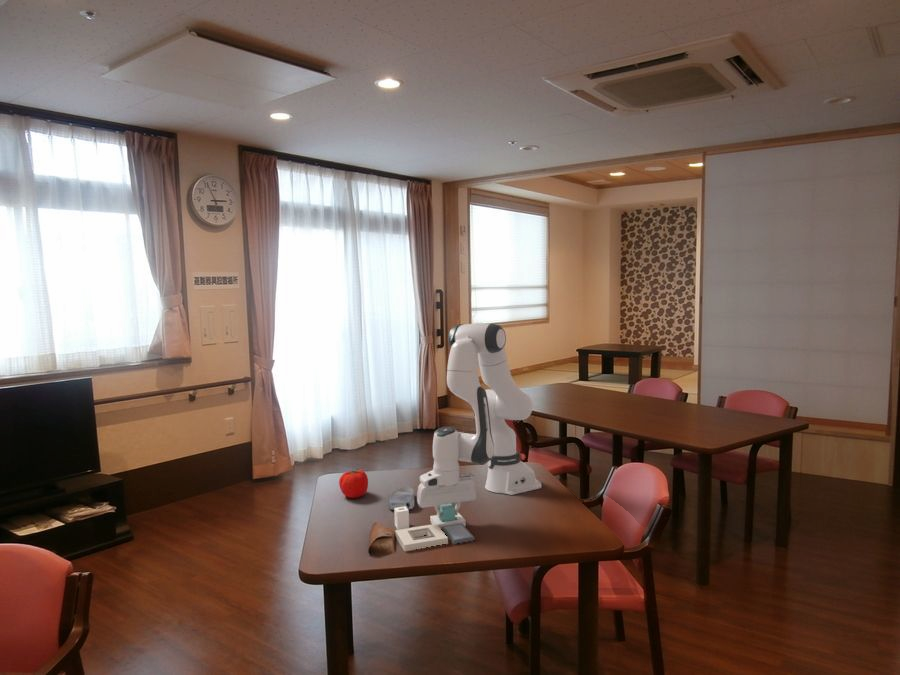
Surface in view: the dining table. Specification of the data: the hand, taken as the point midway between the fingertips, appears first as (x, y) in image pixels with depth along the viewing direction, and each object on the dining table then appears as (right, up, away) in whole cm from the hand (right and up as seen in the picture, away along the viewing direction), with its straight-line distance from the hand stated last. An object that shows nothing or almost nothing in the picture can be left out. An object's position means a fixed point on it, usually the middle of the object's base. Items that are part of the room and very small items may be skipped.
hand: (447, 515), depth 199 cm
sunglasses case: (-20, -5, -13) cm, 25 cm away
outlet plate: (-8, -4, -12) cm, 15 cm away
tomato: (-37, -2, +30) cm, 47 cm away
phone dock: (+2, -3, -5) cm, 7 cm away
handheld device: (-17, -2, +22) cm, 28 cm away
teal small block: (0, -2, 0) cm, 2 cm away
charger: (-15, -3, -1) cm, 16 cm away
